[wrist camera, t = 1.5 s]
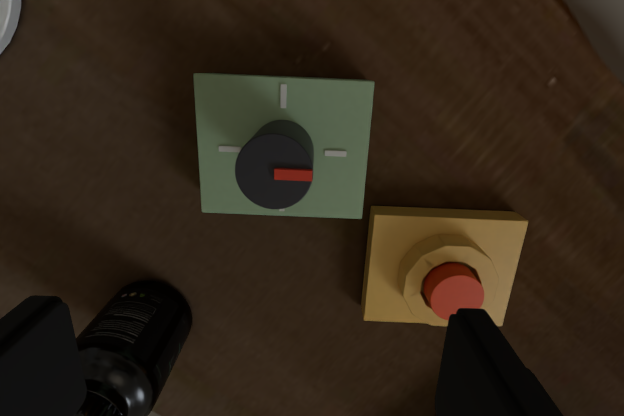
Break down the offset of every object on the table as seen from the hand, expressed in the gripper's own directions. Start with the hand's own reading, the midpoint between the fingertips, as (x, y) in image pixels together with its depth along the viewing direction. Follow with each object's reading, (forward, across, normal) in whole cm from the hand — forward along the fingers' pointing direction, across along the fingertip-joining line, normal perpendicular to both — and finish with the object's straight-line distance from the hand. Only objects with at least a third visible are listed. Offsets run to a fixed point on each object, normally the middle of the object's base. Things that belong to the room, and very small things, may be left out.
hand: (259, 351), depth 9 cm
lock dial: (+17, +1, -2) cm, 17 cm away
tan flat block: (+20, -11, +8) cm, 24 cm away
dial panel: (+20, +1, -2) cm, 20 cm away
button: (+16, -11, +8) cm, 21 cm away
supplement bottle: (+20, +12, +13) cm, 27 cm away
